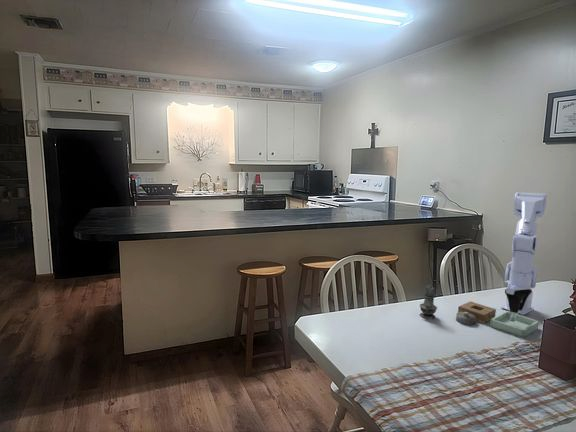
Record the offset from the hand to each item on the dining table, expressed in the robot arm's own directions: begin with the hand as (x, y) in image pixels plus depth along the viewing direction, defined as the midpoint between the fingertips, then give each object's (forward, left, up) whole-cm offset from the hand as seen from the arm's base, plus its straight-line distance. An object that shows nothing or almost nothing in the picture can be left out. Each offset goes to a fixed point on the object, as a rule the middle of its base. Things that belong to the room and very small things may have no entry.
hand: (515, 310), depth 124 cm
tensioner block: (+4, -12, -6) cm, 14 cm away
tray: (0, 0, -6) cm, 6 cm away
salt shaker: (+16, -22, -6) cm, 28 cm away
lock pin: (0, -1, -4) cm, 4 cm away
